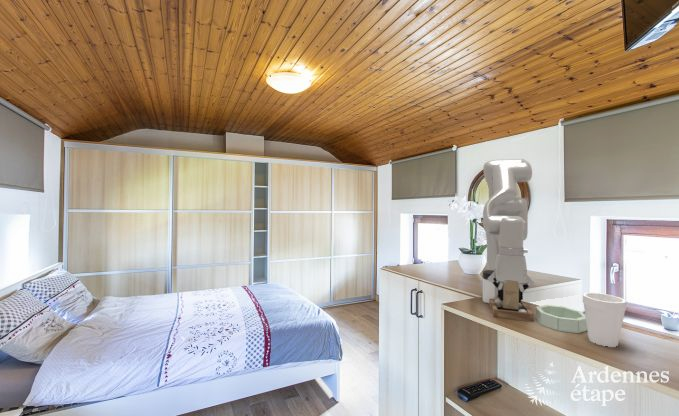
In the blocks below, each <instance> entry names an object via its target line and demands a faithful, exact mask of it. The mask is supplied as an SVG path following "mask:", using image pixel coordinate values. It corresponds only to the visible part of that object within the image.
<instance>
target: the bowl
mask: <svg viewBox="0 0 679 416" xmlns="http://www.w3.org/2000/svg"><path fill="white" fill-rule="evenodd" d="M535 319H536V321H537V323H539V324H540V325H541V326H544V327H546V328H549V329H552V330H554V331H558V332H566V333H574V334H580V333H583V332H586V331H587V323H586V316H585V313H583V312H582V311H580V310H577V309H574V308H570V307H566V306H563V305H562V306H561V305H552V304H551V305H550V304H543V305H538V306H536V307H535ZM587 332H588V331H587Z"/></svg>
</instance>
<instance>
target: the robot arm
mask: <svg viewBox="0 0 679 416" xmlns="http://www.w3.org/2000/svg"><path fill="white" fill-rule="evenodd" d="M529 162H530V161H527V160H526V159H523V158H514V159H513V158H511V159H494V160H493V159H492V160H489V161H486V162H485V163H484V165H483V169H482V170H483V175H484V179H485V181H486V184H487V188H488V199H487V200H486V202H485V205H484V207H483V208H482V210H483V211H482V223H483V226H482V227H483V230H484V232H485V237H486V270H494V272H493V273H492V274H491V275H490V276H489V277H488V280H489V281H490V282H491V283H493V284H494V285H495V286H496V287H497V288H498V298H500V300H501V301H503V290H502V286H503V282H504V280H511V281H519V303H521V302H522V301H523V299H524V298H523V297H524V296H523V295H524V294H523V293H524V291H525V290H527V289H528V288H529V287H531V286H533V285H534V284H535V282H534V280H533V279H532V278H530V276H529V275H528V271H527V270H528V269H527V268H528V267H527V262H526V261H527V260H526V256H525V255H524V254H527V253H528V248H524V242H525V241H526V240H527V238H528V233H529V230H528V223H529V222H528V221H529V220H528V219H529V218H528V217H529V216H528V213H529V212H528V209H529V208H528V203H527V200H525V198H523V197H517V196H518V187H517V183H528V182H530V180H531V179H532V177H533V169H532V166H531V164H530V163H529ZM494 278H496V280H497V281H498V283H497V282H496V281H495V280H493V279H494Z"/></svg>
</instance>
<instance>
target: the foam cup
mask: <svg viewBox="0 0 679 416" xmlns="http://www.w3.org/2000/svg"><path fill="white" fill-rule="evenodd" d="M582 303H583V308H584V314H585V316H586V323H587V336H588V340H589V341H590V342H591V343H593V344H595V343H596V345H598V346H601V345H602V346H601V347H605V346H608V347H607V348H616V346H617V347H618V345H619V341H620V337H621V332H622V328H623V324H624V323H623V322H624V317H625V314H626V310H627V300H625V299H624V298H622V297H620V296H615V295H612V294H609V293H607V294H606V293H601V292H585V293H582Z"/></svg>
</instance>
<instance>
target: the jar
mask: <svg viewBox="0 0 679 416" xmlns="http://www.w3.org/2000/svg"><path fill="white" fill-rule="evenodd" d="M493 272H494V270H487V269H484V270H483V271H482V276H481V278H482V283H481V284H482V285H481V288H482V289H481V290H482V291H481V295H482V296H481V300H482V303H485V304H489V299H500V298H498V288H497V287H496V286H495V285H494V284H493V283H491V282H490V281H489V280H488V277H489V276H490V275H491V274H492V273H493ZM493 280H495V281H496V282H497V283H498V281H497V280H496V278H494V279H493Z"/></svg>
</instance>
